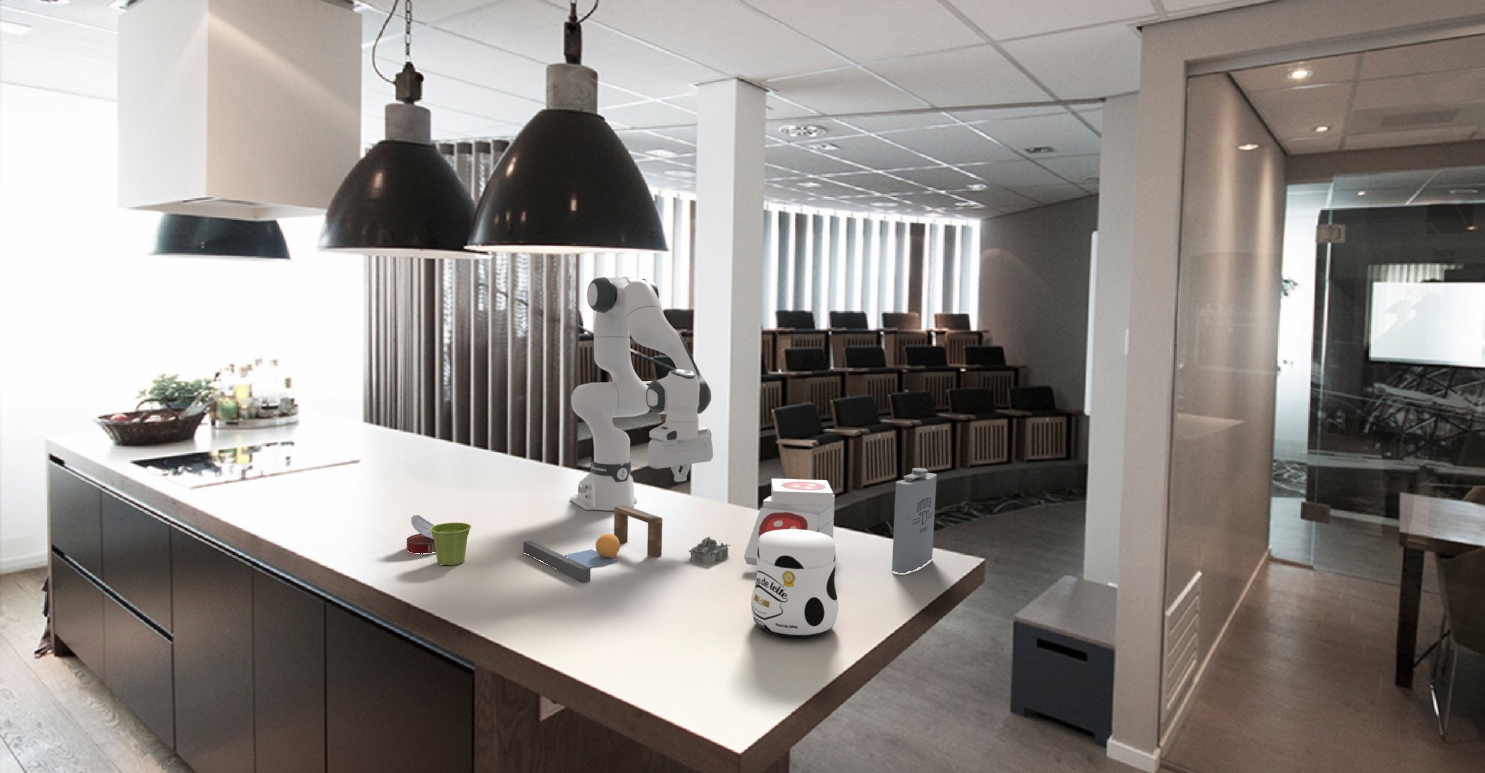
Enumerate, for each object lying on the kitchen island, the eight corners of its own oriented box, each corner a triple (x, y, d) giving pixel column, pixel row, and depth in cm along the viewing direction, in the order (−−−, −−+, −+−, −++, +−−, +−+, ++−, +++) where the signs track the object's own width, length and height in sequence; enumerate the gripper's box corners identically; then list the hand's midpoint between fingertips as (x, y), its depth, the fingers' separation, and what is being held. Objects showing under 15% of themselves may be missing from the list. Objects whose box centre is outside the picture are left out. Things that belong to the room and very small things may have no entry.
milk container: (737, 635, 158) (740, 545, 156) (767, 606, 174) (769, 523, 172) (824, 651, 152) (828, 557, 150) (846, 619, 168) (850, 534, 166)
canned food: (427, 560, 212) (440, 523, 216) (450, 564, 206) (463, 526, 210) (389, 549, 204) (404, 510, 207) (413, 553, 198) (427, 513, 202)
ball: (612, 535, 209) (602, 557, 207) (597, 527, 205) (586, 549, 203) (628, 541, 205) (618, 563, 203) (613, 533, 201) (602, 556, 199)
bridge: (652, 557, 205) (652, 519, 204) (613, 542, 217) (614, 506, 216) (661, 555, 207) (662, 517, 206) (623, 540, 219) (623, 504, 219)
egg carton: (708, 550, 214) (709, 535, 213) (733, 556, 210) (733, 540, 209) (685, 560, 204) (685, 544, 204) (709, 566, 201) (710, 549, 200)
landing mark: (550, 558, 202) (550, 557, 202) (591, 549, 210) (591, 549, 210) (575, 571, 193) (575, 570, 193) (618, 561, 201) (618, 560, 201)
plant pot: (422, 561, 197) (422, 526, 196) (459, 553, 203) (459, 519, 203) (441, 571, 190) (441, 534, 189) (478, 562, 197) (478, 527, 196)
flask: (906, 577, 196) (912, 474, 193) (889, 572, 199) (894, 471, 196) (937, 560, 210) (942, 464, 207) (920, 556, 212) (925, 462, 210)
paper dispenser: (736, 571, 197) (738, 497, 195) (775, 539, 225) (777, 474, 223) (812, 582, 190) (815, 506, 188) (843, 548, 218) (846, 482, 216)
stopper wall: (523, 553, 205) (523, 541, 205) (530, 551, 207) (530, 540, 207) (582, 582, 185) (582, 569, 185) (590, 580, 186) (590, 568, 186)
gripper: (703, 425, 228) (702, 474, 230) (644, 431, 214) (643, 483, 216) (718, 428, 224) (717, 478, 225) (658, 435, 210) (657, 488, 211)
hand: (680, 480), depth 220 cm, fingers closed
